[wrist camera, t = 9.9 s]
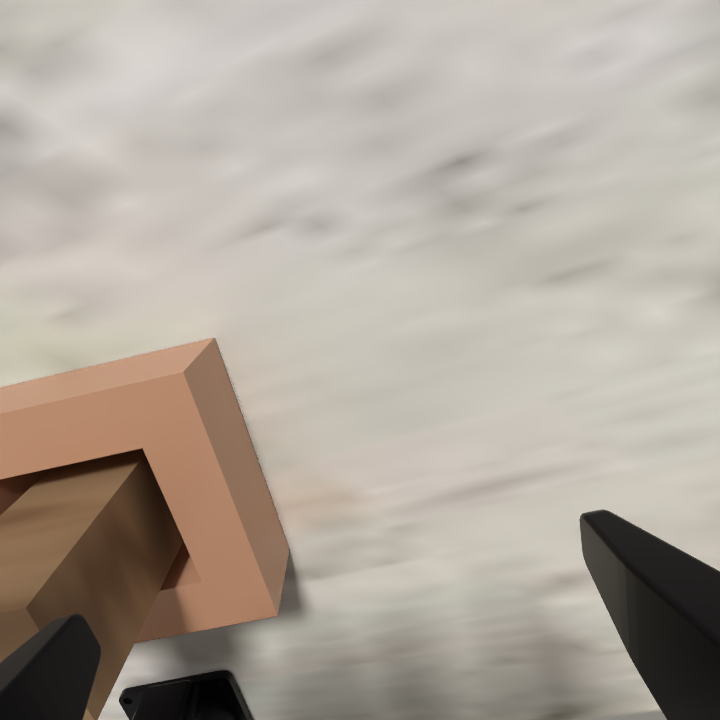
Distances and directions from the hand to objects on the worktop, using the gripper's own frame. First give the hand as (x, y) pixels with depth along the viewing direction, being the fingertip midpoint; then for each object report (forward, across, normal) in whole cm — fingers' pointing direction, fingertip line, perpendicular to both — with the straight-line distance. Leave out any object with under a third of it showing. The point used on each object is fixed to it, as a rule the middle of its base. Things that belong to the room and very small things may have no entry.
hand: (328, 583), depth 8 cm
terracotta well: (+13, +11, +4) cm, 17 cm away
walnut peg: (+13, +11, +4) cm, 18 cm away
